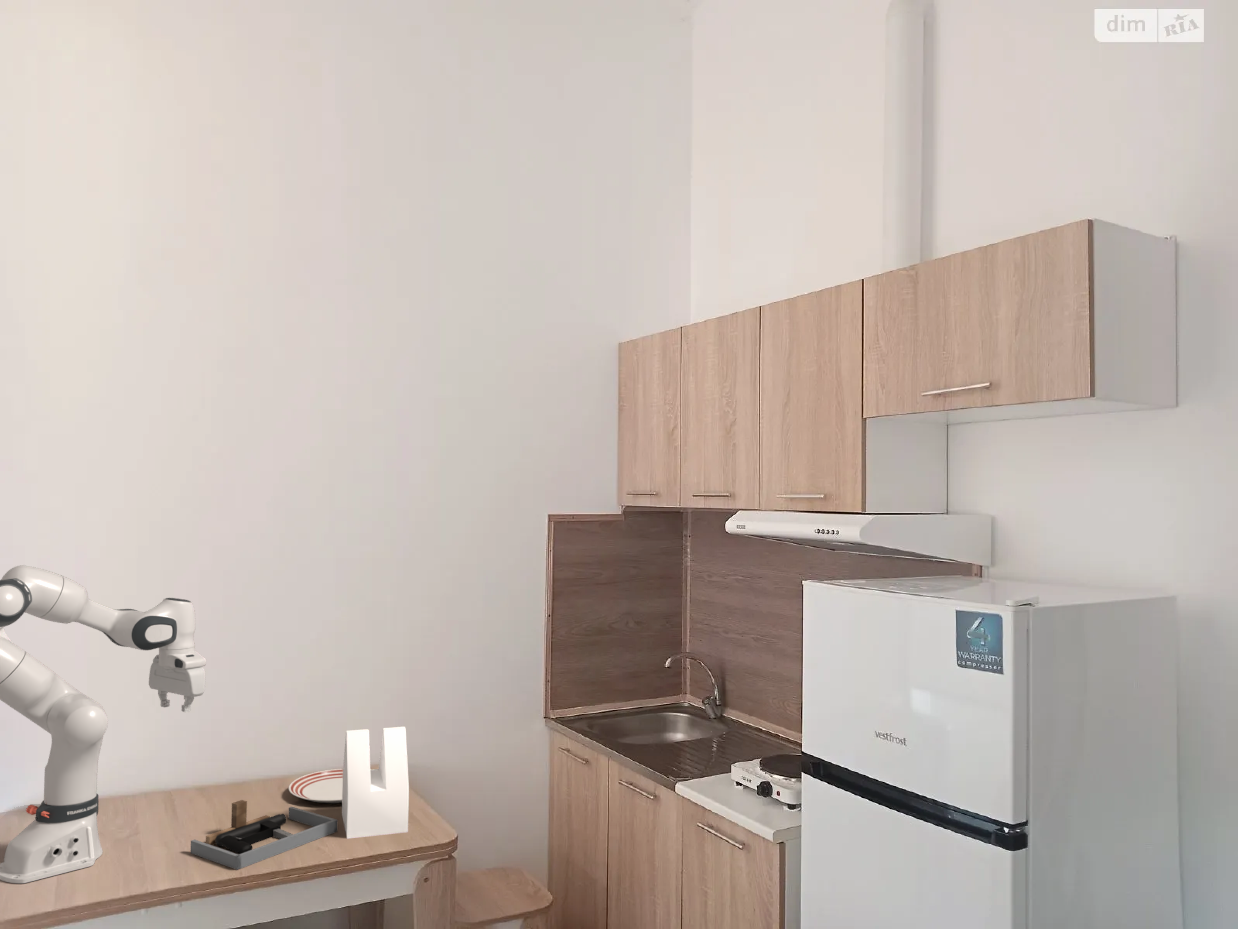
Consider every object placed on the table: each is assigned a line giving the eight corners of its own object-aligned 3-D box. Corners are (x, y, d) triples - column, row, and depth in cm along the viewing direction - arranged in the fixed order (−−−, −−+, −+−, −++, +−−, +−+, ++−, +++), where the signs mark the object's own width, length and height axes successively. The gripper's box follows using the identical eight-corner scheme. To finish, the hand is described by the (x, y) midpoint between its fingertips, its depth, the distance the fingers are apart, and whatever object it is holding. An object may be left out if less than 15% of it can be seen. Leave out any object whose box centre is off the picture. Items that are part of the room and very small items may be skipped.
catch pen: (237, 870, 222) (237, 857, 222) (190, 853, 231) (190, 840, 232) (337, 831, 247) (337, 820, 247) (291, 817, 257) (291, 806, 257)
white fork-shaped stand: (341, 814, 261) (343, 722, 261) (398, 808, 266) (400, 719, 266) (346, 839, 243) (349, 740, 243) (407, 832, 248) (410, 736, 248)
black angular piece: (317, 827, 245) (277, 810, 254) (250, 851, 228) (210, 833, 237) (316, 839, 245) (276, 823, 254) (249, 865, 228) (209, 846, 237)
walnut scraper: (209, 847, 236) (210, 813, 236) (204, 845, 237) (205, 811, 237) (270, 826, 251) (271, 793, 252) (265, 824, 252) (266, 792, 253)
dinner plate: (387, 805, 269) (387, 793, 269) (284, 812, 261) (285, 800, 261) (384, 776, 295) (385, 766, 295) (291, 782, 288) (292, 771, 288)
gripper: (143, 655, 259) (141, 706, 259) (188, 663, 248) (187, 716, 248) (164, 652, 265) (163, 702, 264) (210, 660, 254) (209, 712, 253)
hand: (175, 709), depth 256 cm, fingers open, 8 cm apart
